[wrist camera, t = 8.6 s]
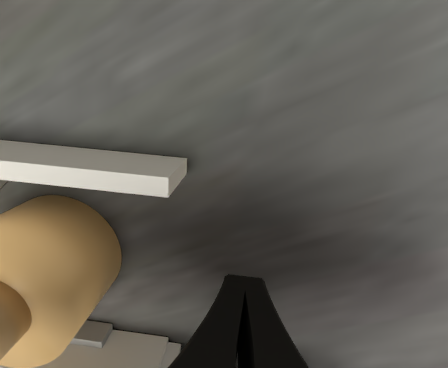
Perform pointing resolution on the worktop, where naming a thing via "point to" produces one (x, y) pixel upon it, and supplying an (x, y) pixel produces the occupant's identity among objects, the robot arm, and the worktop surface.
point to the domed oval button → (51, 276)
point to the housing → (106, 181)
